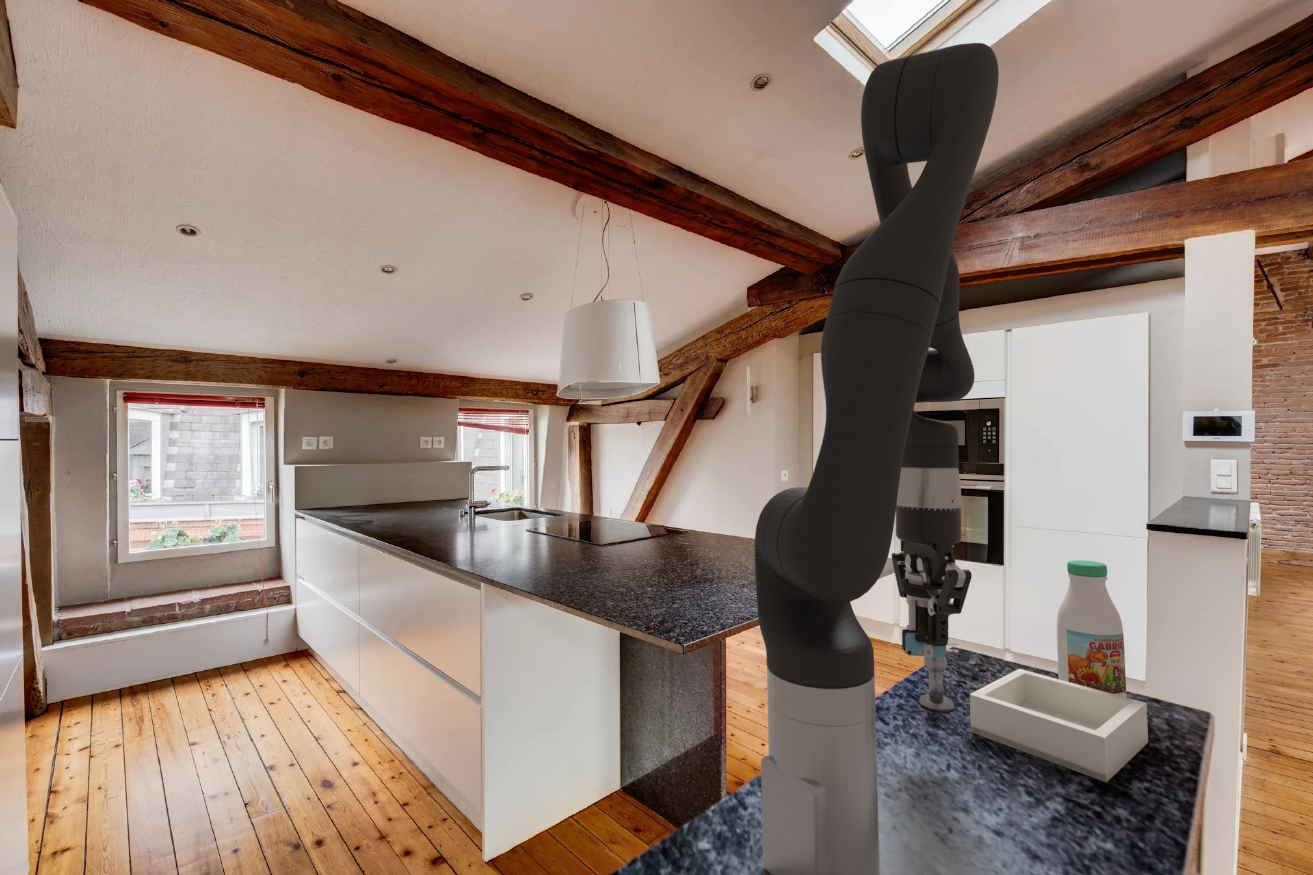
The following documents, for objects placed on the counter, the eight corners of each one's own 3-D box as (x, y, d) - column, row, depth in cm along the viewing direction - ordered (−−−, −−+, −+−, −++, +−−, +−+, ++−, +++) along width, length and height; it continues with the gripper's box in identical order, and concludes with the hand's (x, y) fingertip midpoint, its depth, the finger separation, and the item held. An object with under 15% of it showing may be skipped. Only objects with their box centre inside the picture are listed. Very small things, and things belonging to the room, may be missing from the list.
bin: (1106, 782, 62) (1104, 737, 63) (970, 731, 74) (969, 694, 74) (1148, 742, 71) (1146, 702, 71) (1020, 702, 82) (1019, 668, 83)
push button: (950, 648, 74) (949, 571, 75) (966, 663, 69) (965, 579, 69) (896, 646, 75) (895, 569, 76) (908, 660, 70) (907, 577, 70)
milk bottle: (1047, 697, 84) (1042, 560, 84) (1078, 688, 87) (1073, 555, 88) (1107, 719, 77) (1101, 569, 77) (1138, 708, 80) (1133, 564, 81)
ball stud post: (943, 714, 79) (941, 658, 79) (913, 703, 83) (912, 649, 83) (959, 706, 82) (958, 651, 82) (929, 695, 85) (928, 643, 85)
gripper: (994, 508, 66) (995, 658, 66) (922, 499, 80) (923, 623, 80) (933, 508, 65) (934, 661, 65) (872, 499, 79) (872, 624, 79)
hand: (928, 639), depth 72 cm, fingers closed on push button, 3 cm apart
